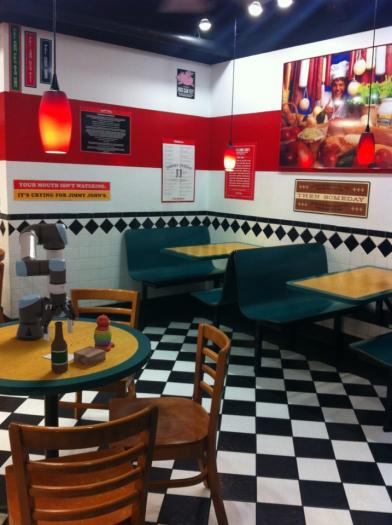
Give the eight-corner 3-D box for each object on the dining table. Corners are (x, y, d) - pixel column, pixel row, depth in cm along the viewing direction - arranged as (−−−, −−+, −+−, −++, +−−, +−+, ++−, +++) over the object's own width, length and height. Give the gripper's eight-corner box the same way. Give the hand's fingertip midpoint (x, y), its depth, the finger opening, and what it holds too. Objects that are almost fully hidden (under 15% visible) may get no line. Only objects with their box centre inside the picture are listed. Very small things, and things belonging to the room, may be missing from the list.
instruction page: (42, 357, 256) (42, 356, 256) (55, 351, 265) (55, 350, 265) (66, 363, 250) (66, 362, 250) (79, 356, 259) (79, 355, 259)
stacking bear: (108, 352, 266) (108, 319, 263) (90, 350, 268) (90, 317, 265) (115, 345, 277) (115, 313, 273) (98, 343, 279) (98, 312, 275)
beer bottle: (52, 367, 244) (51, 319, 240) (69, 367, 245) (68, 319, 240) (49, 374, 236) (48, 324, 232) (66, 374, 237) (65, 324, 233)
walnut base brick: (73, 361, 253) (73, 352, 252) (90, 355, 262) (89, 346, 261) (89, 366, 247) (89, 357, 246) (105, 360, 256) (105, 350, 255)
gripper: (41, 298, 221) (42, 345, 225) (84, 288, 241) (84, 331, 245) (30, 295, 225) (31, 341, 229) (73, 286, 246) (73, 328, 249)
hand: (59, 336), depth 237 cm, fingers open, 13 cm apart
